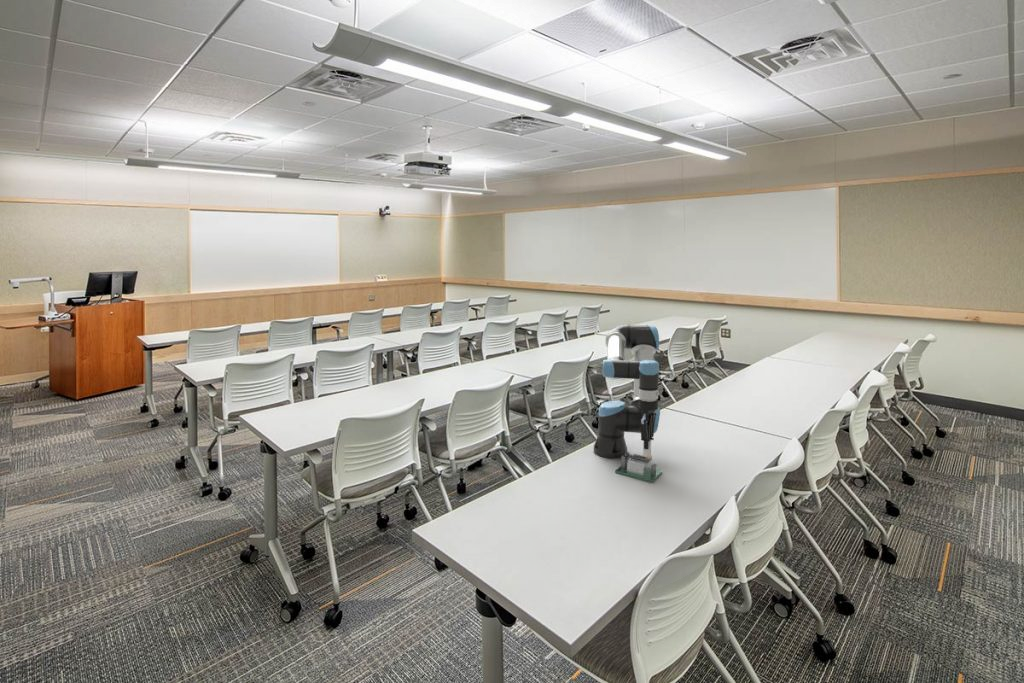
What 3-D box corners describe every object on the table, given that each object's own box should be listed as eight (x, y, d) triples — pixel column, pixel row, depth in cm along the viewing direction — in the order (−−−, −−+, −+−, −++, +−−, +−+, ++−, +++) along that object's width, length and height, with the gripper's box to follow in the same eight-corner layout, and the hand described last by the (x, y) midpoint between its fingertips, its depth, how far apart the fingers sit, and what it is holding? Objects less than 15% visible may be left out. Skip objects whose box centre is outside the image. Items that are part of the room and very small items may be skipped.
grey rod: (623, 458, 217) (622, 454, 216) (625, 457, 218) (624, 452, 218) (650, 461, 210) (649, 457, 210) (651, 459, 211) (651, 455, 211)
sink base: (615, 472, 215) (615, 457, 214) (625, 463, 224) (626, 449, 222) (652, 482, 206) (653, 467, 204) (662, 473, 215) (663, 458, 213)
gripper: (651, 404, 200) (650, 462, 203) (663, 396, 211) (661, 452, 214) (633, 401, 204) (632, 458, 208) (645, 394, 215) (644, 449, 218)
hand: (647, 455), depth 211 cm, fingers closed
